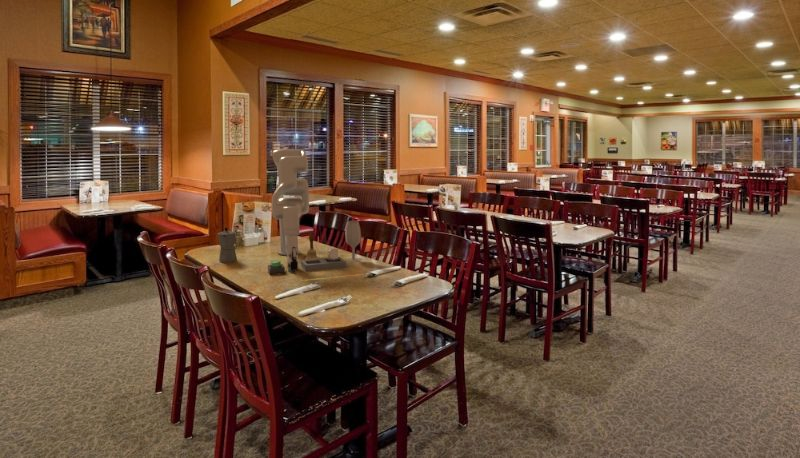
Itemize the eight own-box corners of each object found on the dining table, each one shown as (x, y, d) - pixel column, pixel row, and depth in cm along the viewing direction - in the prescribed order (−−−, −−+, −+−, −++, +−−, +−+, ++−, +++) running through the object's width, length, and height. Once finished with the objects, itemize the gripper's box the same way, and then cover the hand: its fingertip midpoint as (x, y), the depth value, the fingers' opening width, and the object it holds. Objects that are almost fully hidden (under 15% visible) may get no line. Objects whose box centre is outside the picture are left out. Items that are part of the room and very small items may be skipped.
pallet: (301, 267, 252) (300, 260, 252) (339, 263, 260) (339, 256, 259) (305, 272, 241) (305, 265, 241) (346, 268, 249) (345, 261, 248)
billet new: (287, 270, 247) (286, 254, 245) (297, 269, 248) (296, 253, 247) (288, 272, 242) (288, 256, 241) (299, 271, 244) (298, 255, 242)
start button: (270, 266, 243) (270, 261, 243) (280, 265, 245) (279, 260, 244) (272, 268, 239) (271, 263, 239) (281, 267, 241) (281, 262, 240)
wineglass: (361, 263, 260) (360, 223, 257) (344, 263, 260) (343, 223, 257) (362, 259, 269) (361, 220, 265) (346, 259, 269) (345, 220, 265)
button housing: (268, 271, 244) (267, 265, 244) (282, 270, 247) (282, 264, 246) (269, 274, 238) (269, 268, 237) (284, 273, 240) (284, 267, 240)
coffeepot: (235, 263, 261) (233, 229, 258) (216, 264, 260) (213, 229, 257) (240, 256, 276) (238, 224, 273) (222, 257, 275) (220, 225, 272)
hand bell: (321, 259, 270) (320, 229, 267) (317, 262, 262) (316, 232, 259) (306, 258, 271) (305, 229, 268) (302, 262, 263) (300, 232, 260)
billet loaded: (327, 264, 254) (326, 249, 252) (336, 263, 255) (336, 248, 254) (329, 267, 249) (328, 251, 248) (339, 266, 251) (338, 250, 250)
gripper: (280, 229, 248) (282, 264, 251) (286, 235, 233) (288, 272, 236) (296, 228, 251) (297, 263, 254) (302, 233, 235) (304, 271, 238)
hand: (292, 267), depth 245 cm, fingers open, 5 cm apart
